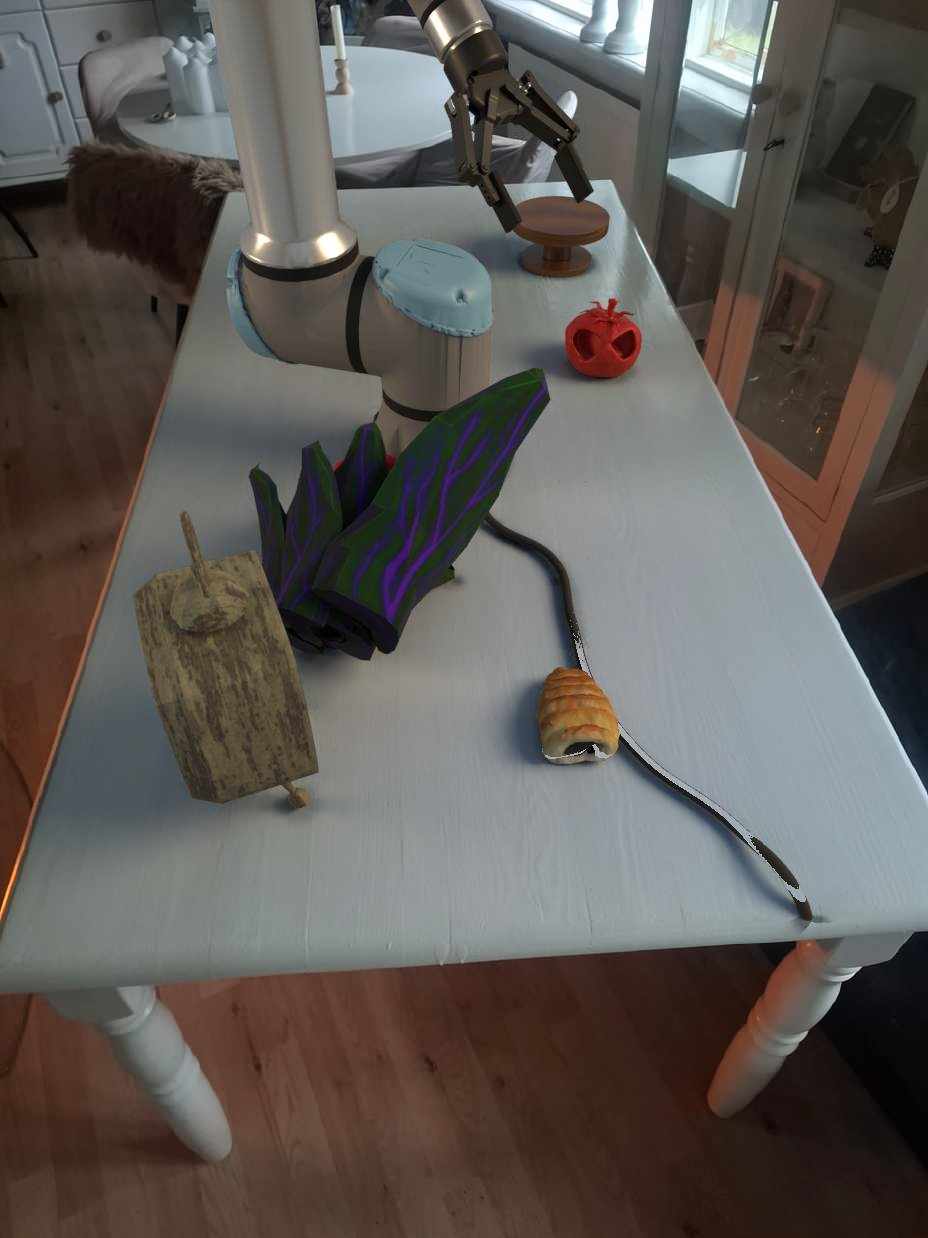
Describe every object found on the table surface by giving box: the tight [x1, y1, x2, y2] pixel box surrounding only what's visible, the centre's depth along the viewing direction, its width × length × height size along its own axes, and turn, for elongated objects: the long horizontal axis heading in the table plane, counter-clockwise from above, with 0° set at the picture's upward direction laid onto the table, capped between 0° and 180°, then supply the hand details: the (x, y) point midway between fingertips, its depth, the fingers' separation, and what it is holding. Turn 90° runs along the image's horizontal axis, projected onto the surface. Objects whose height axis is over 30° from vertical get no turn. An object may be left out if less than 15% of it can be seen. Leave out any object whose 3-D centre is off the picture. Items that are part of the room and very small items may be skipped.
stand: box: [512, 195, 611, 278], centre depth 134 cm, size 15×15×7 cm
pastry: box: [535, 666, 619, 765], centre depth 73 cm, size 9×7×4 cm
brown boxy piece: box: [132, 510, 320, 809], centre depth 62 cm, size 14×9×25 cm, turn 22°
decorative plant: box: [248, 367, 552, 662], centre depth 79 cm, size 21×26×30 cm
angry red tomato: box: [564, 298, 643, 378], centre depth 112 cm, size 10×10×9 cm
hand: (551, 212), depth 108 cm, fingers open, 13 cm apart
